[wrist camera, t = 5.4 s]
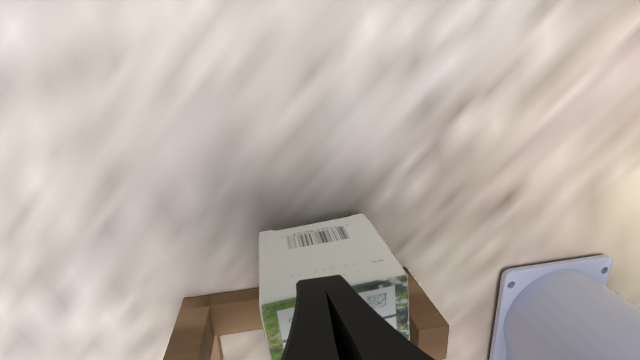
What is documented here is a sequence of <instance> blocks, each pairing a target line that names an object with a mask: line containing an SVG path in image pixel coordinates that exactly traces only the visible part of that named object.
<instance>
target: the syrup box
mask: <svg viewBox="0 0 640 360" xmlns="http://www.w3.org/2000/svg"><path fill="white" fill-rule="evenodd" d="M258 239H259V308H260V313H261V319H262V324H263V328H264V333H265V337H266V342H267V347H268V352H269V357H270V360H281V357H282V354H283V351H284V348H285V345H286V342H287V338H288V335H289V331H290V327H291V323H292V319H293V314H294V309H295V303H296V283H297V282H298V281H299V280H304V279H311V278H318V277H325V276H333V275H341V276H342V277H343V278H344V279H345V280H346V281H347V282H348V283H349V284H350V285H351V287H352V288H353V289H354V290H355V291H356V292H357V293H358V294H359V295H360V296H361V297H362V298H363V299H364V300H365V301H366V302H367V303H368V304H369V305H370V306H371V307H372V308H373V309H374V310H375V311H376V312H377V313H378V314H379V315H380V316H382V317H383V318H384V319H385V320H386V321H387V322H388V323H389V324H390V325H391V326H393V327H394V328H395V329H396V330H397V331H398V332H400V333H401V334H402V335H403V336H405V337H406V338H407V339H408V340H409V341H410V332H409V298H408V276H407V274H406V272H405V271H404V269H403V268H402V266H401V265H400V264H399V262H398V261H397V259H396V258H395V256H394V255H393V254H392V252H391V251H390V249H389V248H388V246H387V245H386V243H385V242H384V241H383V239H382V238H381V236H380V235H379V234H378V232H377V231H376V230H375V228H374V227H373V225H372V224H371V223H370V221H369V220H368V218H367V217H366V216H365V214H363V213H361V214H356V215H352V216H349V217H344V218H339V219H334V220H329V221H324V222H319V223H313V224H308V225H303V226H298V227H293V228H288V229H282V230H277V231H273V230H267V231H262V232H260V233H259V238H258Z"/></svg>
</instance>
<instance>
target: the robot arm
mask: <svg viewBox="0 0 640 360" xmlns="http://www.w3.org/2000/svg"><path fill="white" fill-rule="evenodd" d="M611 265H612V259H611V258H610V257H608V256H606V255H597V256H591V257H584V258H577V259H570V260H564V261H557V262H550V263H543V264H537V265H530V266H523V267H516V268H509V269H506V270H505V271H504V272H503V273H502V276H501V283H500V290H499V296H498V303H497V310H496V317H495V323H494V330H493V337H492V344H491V351H490V357H489V360H640V307H639V306H637V305H636V304H634V303H632V302H631V301H629V300H627V299H626V298H624V297H623V296H621V295H619V294H618V293H616V292H615V291H613V290H611V289H610V288H608V287H606V284H607V280H608V276H609V272H610V269H611ZM509 282H510V283H509ZM508 283H509V284H508ZM281 360H435V359H433V358H432V357H431V356H429V355H428V354H426V353H425V352H424V351H422V350H421V349H420V348H418V347H417V346H416V345H414V344H413V343H412V342H411V341H409V340H408V339H407V338H406V337H405V336H403V335H402V334H401V333H400V332H398V331H397V330H396V329H395V328H394V327H393V326H391V325H390V324H389V323H388V322H387V321H386V320H385V319H384V318H383V317H382V316H380V315H379V314H378V313H377V312H376V311H375V310H374V309H373V308H372V307H371V306H370V305H369V304H368V303H367V302H366V301H365V300H364V299H363V298H362V297H361V296H360V295H359V294H358V293H357V292H356V291H355V290H354V289H353V288H352V287H351V285H350V284H349V283H348V282H347V281H346V280H345V279H344V278H343V277H342V276H341V275H333V276H325V277H318V278H311V279H304V280H299V281H298V282H297V283H296V303H295V309H294V314H293V319H292V323H291V327H290V331H289V335H288V338H287V342H286V345H285V348H284V351H283V354H282V357H281Z"/></svg>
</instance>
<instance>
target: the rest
mask: <svg viewBox="0 0 640 360" xmlns="http://www.w3.org/2000/svg"><path fill="white" fill-rule="evenodd" d="M403 269H404V271H405V272H406V274H407V276H408V298H409V332H410V341H411V342H412V343H413V344H414V345H416V346H417V347H418V348H420V349H421V350H422V351H424V352H425V353H426V354H428V355H429V356H431V357H432V358H433V359H435V360H442V359H446V354H447V344H448V333H449V325H448V323H447V322H446V321H445V319H444V318H443V317H442V315H441V314H440V313H439V311H438V310H437V309H436V307H435V306H434V305H433V303H432V302H431V301H430V299H429V298H428V297H427V295H426V294H425V293H424V291H423V290H422V289H421V287H420V286H419V285H418V283H417V282H416V280H415V279H414V278H413V276H412V275H411V274H410V272H409V271H408V270H407V268H406V267H405V268H403ZM258 329H264V328H263V324H262V319H261V313H260V308H259V288H255V289H248V290H241V291H234V292H226V293H219V294H212V295H205V296H198V297H191V298H184V300H183V303H182V306H181V308H180V311H179V314H178V317H177V320H176V323H175V326H174V329H173V332H172V335H171V338H170V341H169V344H168V347H167V350H166V352H165V355H164V358H163V360H223V356H222V350H221V344H220V339H219V336H220V335H226V334H232V333H239V332H245V331H251V330H258Z"/></svg>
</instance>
